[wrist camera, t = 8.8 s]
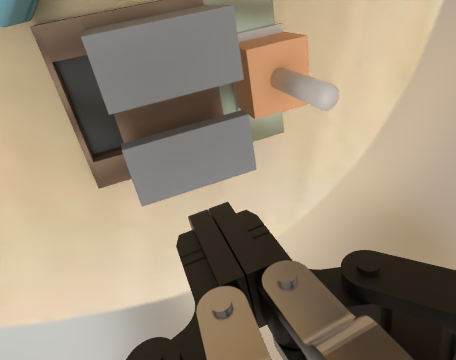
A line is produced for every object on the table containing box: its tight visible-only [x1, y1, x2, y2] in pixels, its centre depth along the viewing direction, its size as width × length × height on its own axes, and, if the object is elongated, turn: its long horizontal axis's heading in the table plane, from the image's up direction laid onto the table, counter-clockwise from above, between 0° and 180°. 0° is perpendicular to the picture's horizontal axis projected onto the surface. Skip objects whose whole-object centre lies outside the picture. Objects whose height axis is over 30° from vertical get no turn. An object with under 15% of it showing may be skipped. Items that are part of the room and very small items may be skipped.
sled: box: [233, 23, 339, 119], centre depth 31 cm, size 8×6×13 cm
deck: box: [31, 0, 284, 188], centre depth 35 cm, size 16×22×2 cm
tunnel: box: [81, 5, 256, 206], centre depth 31 cm, size 14×11×8 cm
